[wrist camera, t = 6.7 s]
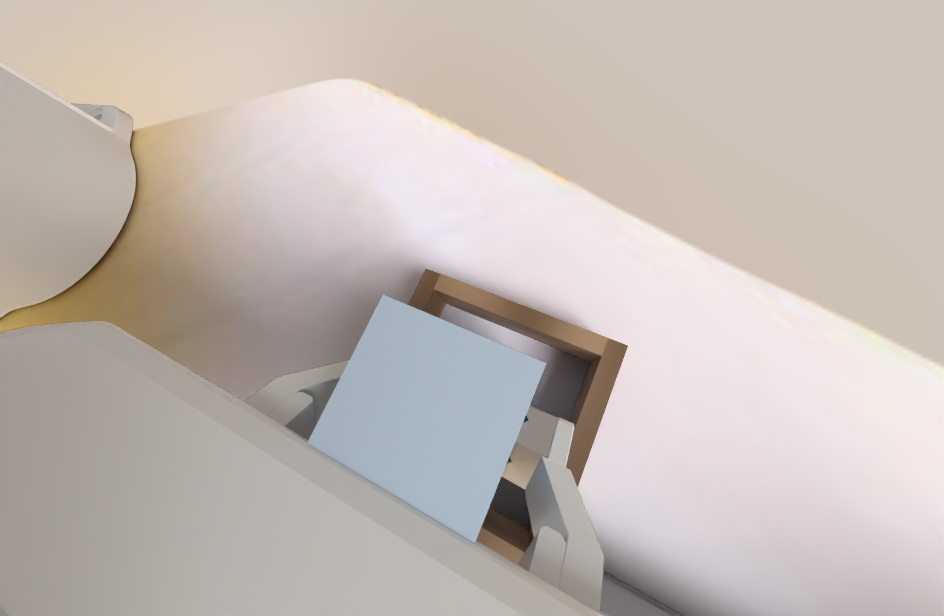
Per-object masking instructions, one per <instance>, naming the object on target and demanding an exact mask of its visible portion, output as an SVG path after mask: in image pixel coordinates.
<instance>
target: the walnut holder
mask: <svg viewBox="0 0 944 616" xmlns="http://www.w3.org/2000/svg"><path fill="white" fill-rule="evenodd" d="M446 303H447V304H449V305H451V306H454V307H456V308H459V309H461V310H464V311H466V312H469V313H471V314H474V315H476V316H479V317H481V318H484V319H486V320H488V321H491V322H493V323H496V324H498V325H501V326H503V327H506V328H508V329H511V330H513V331H516V332H518V333H520V334H523V335H525V336H528V337H530V338H533V339H535V340H538V341H540V342H543V343H545V344H548V345H550V346H553V347H555V348H557V349H560V350H562V351H565V352H567V353H570V354H572V355H575V356H577V357H580V358H582V359H585V360H587V361H589V362H591V364H590V366H589V369H588V372H587V374H586V377H585V380H584V382H583V385H582V388H581V391H580V393H579V396H578V399H577V401H576V404H575V407H574V409H573V412H572V415H571V417H570V420H569V422H571V423H573V424H574V431H573V436H572V441H571V445H570V450H569V455H568V460H567V464H566V468H568V469H569V470H571V473H572V475H573V478H574V480H575V483H576V485H577V487H578V484H579V481H580V478H581V476H582V473H583V470H584V467H585V464H586V462H587V459H588V456H589V453H590V450H591V448H592V445H593V442H594V439H595V436H596V434H597V431H598V428H599V425H600V422H601V420H602V417H603V414H604V411H605V408H606V406H607V403H608V400H609V397H610V394H611V392H612V389H613V386H614V383H615V380H616V378H617V375H618V372H619V369H620V366H621V364H622V361H623V358H624V355H625V352H626V350H627V347H628V346H627V345H625V344H622V343H619V342H617V341H614V340H612V339H609V338H606V337H604V336H601V335H598V334H596V333H593V332H591V331H588V330H585V329H583V328H580V327H578V326H575V325H572V324H570V323H567V322H564V321H562V320H559V319H557V318H554V317H551V316H549V315H546V314H544V313H541V312H538V311H536V310H533V309H530V308H528V307H525V306H523V305H520V304H517V303H515V302H512V301H510V300H507V299H504V298H502V297H499V296H496V295H494V294H491V293H489V292H486V291H483V290H481V289H478V288H475V287H473V286H470V285H468V284H465V283H462V282H460V281H457V280H455V279H452V278H449V277H447V276H444V275H441V274H439V273H436V272H434V271H431V270H428V269H426V270H425V272H424V274H423V276H422V278H421V280H420V282H419V284H418V286H417V288H416V290H415V292H414V294H413V296H412V298H411V300H410V302H409V304H408V305H409V306H412V307H414V308H416V309H419V310H421V311H424V312H426V313H428V314H431V315H433V316H435V317H438V318H439V317H440V315H441V313H442V311H443V309H444V307H445V305H446ZM533 539H534V536H533V531H532V526H531V524H530V527H529V529H527V528H526V527H524V526H522V525H520V524H518V523H517V522H515V521H513V520H511V519H510V518H508V517H506V516H504V515H502V514H501V513H499V512H497V511H495V510H494V509H492V508H490V507H489V509H488V512H487V514H486V517H485V519H484V522H483V524H482V527H481V529H480V532H479V534H478V537H477V539H476V540H477V541H478V542H480V543H482V544H483V545H485V546H487V547H488V548H490V549H492V550H493V551H495V552H497V553H498V554H500V555H502V556H504V557H505V558H507V559H509V560H510V561H512V562H514V563H515V564H518V562H519V561H520V559H521V558H522V556H523V554H524V553H525V551H526V550H527V548H528V547H529V545H530V544H531V542H532V540H533Z"/></svg>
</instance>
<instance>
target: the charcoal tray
mask: <svg viewBox="0 0 944 616" xmlns="http://www.w3.org/2000/svg"><path fill="white" fill-rule="evenodd" d="M600 614H601V615H603V616H682V615H680V614H679V613H677V612H675V611H673V610H672V609H670V608H668V607H666V606H664V605H663V604H661V603H659V602H657V601H656V600H654V599H652V598H650V597H648V596H647V595H645V594H643V593H641V592H639V591H638V590H636V589H634V588H632V587H631V586H629V585H627V584H625V583H623V582H622V581H620V580H618V579H616V578H615V577H613V576H611V575H609V574H607V573H606V572H604V571H603V579H602V591H601V603H600Z"/></svg>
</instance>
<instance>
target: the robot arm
mask: <svg viewBox="0 0 944 616" xmlns="http://www.w3.org/2000/svg"><path fill="white" fill-rule="evenodd" d="M132 130H133V119H132V117H131V116H130V115H129V114H127V113H125V112H123V111H122V110H120V109H118V108H117V107H115V106H106V105H105V106H104V105H89V104H73V103H69V102H67V101H65V100H64V99H62V98H60V97H59V96H57V95H56V94H54V93H52V92H51V91H49V90H47V89H46V88H44V87H42V86H41V85H39V84H38V83H36V82H34V81H33V80H31V79H29V78H28V77H26V76H24V75H23V74H21V73H19V72H18V71H16V70H15V69H13V68H11V67H10V66H8V65H6V64H4V63H3V62H1V61H0V318H1V317H2V316H4V315H5V314H7V313H8V312H10V311H13V310H15V309H19V308H22V307H27V306H31V305H34V304H38V303H41V302H43V301H46V300H48V299H50V298H52V297H54V296H56V295H58V294H60V293H61V292H63V291H64V290H66V289H67V288H69V287H70V286H72V285H73V284H74V283H76V282H77V281H78V280H80V279H81V278H82V277H83V276H84V275H85V274H86V273H87V272H88V271H90V270H91V269H92V268H93V267H94V265H95V264H96V263H97V262H98V261H99V260H100V259H101V258H102V257H103V255H104V254H105V253H106V251H107V250H108V249H109V247H110V246H111V245H112V243H113V242H114V240H115V239H116V237H117V235H118V234H119V232H120V230H121V228H122V226H123V225H124V222H125V220H126V218H127V216H128V213H129V211H130V208H131V205H132V201H133V198H134V193H135V186H136V170H135V164H134V161H133V157H132V154H131V150H130V140H131V135H132ZM348 362H349V360H346V361H342V362H338V363H334V364H329V365H325V366H321V367H317V368H313V369H309V370H305V371H300V372H296V373H292V374H288V375H284V376H280V377H277V378H276V379H274V380H273V381H272V382H270V383H269V384H267V385H266V386H265V387H263V388H262V389H260V390H259V391H257V392H256V393H255V394H253V395H252V396H250V397H249V398H248V399H246V400H245V401H241V400H240V399H238V398H236V397H235V396H233V395H231V394H230V393H228V392H226V391H225V390H223V389H221V388H220V387H218V386H216V385H215V384H213V383H211V382H210V381H208V380H206V379H205V378H203V377H201V376H199V375H198V374H196V373H194V372H193V371H191V370H189V369H188V368H186V367H184V366H183V365H181V364H179V363H178V362H176V361H174V360H173V359H171V358H169V357H168V356H166V355H164V354H163V353H161V352H159V351H158V350H156V349H154V348H153V347H151V346H149V345H148V344H146V343H144V342H143V341H141V340H139V339H137V338H136V337H134V336H132V335H131V334H129V333H128V332H126V331H124V330H123V329H121V328H119V327H118V326H116V325H114V324H112V323H109V322H105V321H86V322H71V323H60V324H50V325H40V326H30V327H23V328H18V329H14V330H9V331H4V332H0V616H603V615H601V614H600V603H601V591H602V579H603V567H604V554H603V552H602V549H601V547H600V544H599V542H598V539H597V536H596V534H595V531H594V529H593V526H592V524H591V521H590V519H589V516H588V513H587V511H586V508H585V506H584V503H583V501H582V498H581V496H580V493H579V490H578V488H577V485H576V483H575V480H574V478H573V475H572V473H571V470H569V469H568V468H566V464H567V460H568V455H569V450H570V445H571V441H572V436H573V431H574V424H573V423H571V422H569V421H567V420H564V419H562V418H560V417H558V416H556V415H553V414H551V413H549V412H547V411H544V410H542V409H540V408H538V407H535V406H533V405H531V404H530V406H529V409H528V411H527V414H526V416H525V419H524V421H523V424H522V426H521V429H520V431H519V434H518V437H517V439H516V442H515V444H514V447H513V449H512V452H511V454H510V457H509V459H508V462H507V464H506V467H505V469H504V472H503V474H502V477H503V478H505V479H507V480H509V481H510V482H512V483H514V484H516V485H517V486H519V487H521V488H523V489H525V495H526V500H527V506H528V511H529V516H530V521H531V526H532V531H533V536H534V539H533V540H532V542H531V544H530V545H529V547H528V548H527V550H526V551H525V553H524V554H523V556H522V558H521V559H520V561H519V562H518V564H515V563H514V562H512V561H510V560H509V559H507V558H505V557H504V556H502V555H500V554H498V553H497V552H495V551H493V550H492V549H490V548H488V547H487V546H485V545H483V544H482V543H480V542H478V541H477V540H476V542H475V544H474V543H473V542H471V541H469V540H468V539H466V538H464V537H463V536H461V535H459V534H458V533H456V532H454V531H453V530H451V529H449V528H448V527H446V526H444V525H443V524H441V523H439V522H438V521H436V520H434V519H433V518H431V517H429V516H428V515H426V514H424V513H423V512H421V511H419V510H418V509H416V508H414V507H413V506H411V505H409V504H408V503H406V502H404V501H403V500H401V499H399V498H398V497H396V496H394V495H393V494H391V493H389V492H388V491H386V490H384V489H383V488H381V487H379V486H378V485H376V484H374V483H373V482H371V481H369V480H368V479H366V478H364V477H363V476H361V475H359V474H358V473H356V472H354V471H353V470H351V469H349V468H348V467H346V466H344V465H343V464H341V463H339V462H338V461H336V460H334V459H333V458H331V457H329V456H328V455H326V454H324V453H323V452H321V451H319V450H318V449H316V448H314V447H313V446H311V445H309V444H308V443H307V442H308V440H309V438H310V436H311V434H312V433H313V431H314V429H315V427H316V425H317V423H318V421H319V419H320V417H321V415H322V413H323V411H324V409H325V407H326V405H327V403H328V401H329V399H330V397H331V395H332V393H333V391H334V389H335V387H336V385H337V383H338V382H339V380H340V378H341V376H342V374H343V372H344V370H345V368H346V366H347V364H348Z"/></svg>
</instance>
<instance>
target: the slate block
mask: <svg viewBox="0 0 944 616" xmlns="http://www.w3.org/2000/svg"><path fill="white" fill-rule="evenodd" d="M546 364H547V363H545V362H542V361H540V360H538V359H535V358H533V357H530V356H528V355H526V354H523V353H521V352H519V351H516V350H514V349H511V348H509V347H507V346H504V345H502V344H500V343H497V342H495V341H492V340H490V339H488V338H485V337H483V336H481V335H478V334H476V333H473V332H471V331H469V330H466V329H464V328H462V327H459V326H457V325H454V324H452V323H450V322H447V321H445V320H443V319H440V318H438V317H435V316H433V315H431V314H428V313H426V312H424V311H421V310H419V309H416V308H414V307H412V306H409V305H407V304H404V303H402V302H400V301H397V300H395V299H393V298H390V297H388V296H385V295H382V297H381V299H380V301H379V303H378V305H377V307H376V309H375V311H374V313H373V315H372V317H371V319H370V321H369V323H368V325H367V327H366V329H365V331H364V333H363V334H362V336H361V338H360V340H359V342H358V344H357V346H356V348H355V350H354V352H353V354H352V356H351V358H350V360H349V362H348V364H347V366H346V368H345V370H344V372H343V374H342V376H341V378H340V380H339V382H338V383H337V385H336V387H335V389H334V391H333V393H332V395H331V397H330V399H329V401H328V403H327V405H326V407H325V409H324V411H323V413H322V415H321V417H320V419H319V421H318V423H317V425H316V427H315V429H314V431H313V433H312V434H311V436H310V438H309V440H308V442H307V443H308V444H309V445H311V446H313V447H314V448H316V449H318V450H319V451H321V452H323V453H324V454H326V455H328V456H329V457H331V458H333V459H334V460H336V461H338V462H339V463H341V464H343V465H344V466H346V467H348V468H349V469H351V470H353V471H354V472H356V473H358V474H359V475H361V476H363V477H364V478H366V479H368V480H369V481H371V482H373V483H374V484H376V485H378V486H379V487H381V488H383V489H384V490H386V491H388V492H389V493H391V494H393V495H394V496H396V497H398V498H399V499H401V500H403V501H404V502H406V503H408V504H409V505H411V506H413V507H414V508H416V509H418V510H419V511H421V512H423V513H424V514H426V515H428V516H429V517H431V518H433V519H434V520H436V521H438V522H439V523H441V524H443V525H444V526H446V527H448V528H449V529H451V530H453V531H454V532H456V533H458V534H459V535H461V536H463V537H464V538H466V539H468V540H469V541H471V542H473V543H474V544H475V542H476V539H477V537H478V534H479V532H480V529H481V527H482V524H483V522H484V519H485V517H486V514H487V512H488V509H489V507H490V504H491V502H492V499H493V497H494V494H495V492H496V489H497V487H498V484H499V482H500V479H501V477H502V474H503V472H504V469H505V467H506V464H507V462H508V459H509V457H510V454H511V452H512V449H513V447H514V444H515V442H516V439H517V437H518V434H519V431H520V429H521V426H522V424H523V421H524V419H525V416H526V414H527V411H528V409H529V406H530V404H531V401H532V399H533V396H534V394H535V391H536V389H537V386H538V384H539V381H540V379H541V376H542V374H543V371H544V369H545V366H546Z"/></svg>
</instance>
